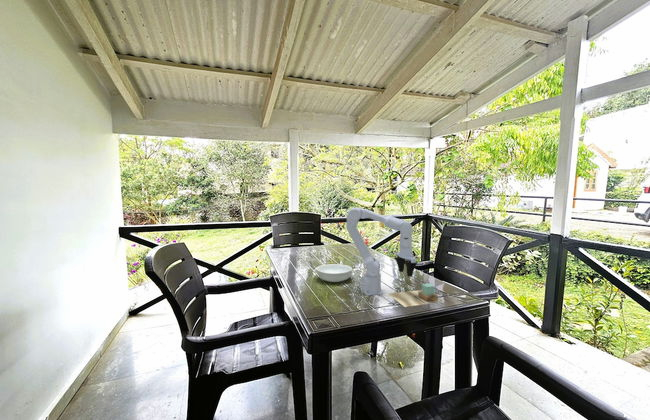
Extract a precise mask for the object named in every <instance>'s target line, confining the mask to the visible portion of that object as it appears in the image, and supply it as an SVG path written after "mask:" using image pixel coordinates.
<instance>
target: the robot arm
mask: <svg viewBox="0 0 650 420" xmlns="http://www.w3.org/2000/svg"><path fill="white" fill-rule="evenodd" d="M360 219H363V220H364V219H370V220H374V221H377V222H379V223H382V224H383V225H384V227H386V228H389V229H391V230H394V231H396V232H399V231H400V232H399V233H400V234H399V251H397V252H396V253H395V254H396V257H394V260H395V261H396V265H397V268H398V272H399V273H404V271H405V268H406V275H407V277H412V276H413V274H414V270H415V268H416V266H417V265H418V262H417V259H416V258H415V257H414V254H413V249H412V248H413V237H412V233H413V232H414V228H413V226H412V224H411V223H410V222H409V221H407V220H404V219H402V218H401V219H400V218H397V217H395V215H387V216H384V215H382V214H379V213H377V212H374V211H372V210H370V209H365V208H360V207H358V206H356V207H351V208H350V209H349V210H348V212H347V215H346V227H345V228H346V232H348V235H349V236H350V238H351V240H352V241H353V244H354V246H355V247H356V249H357V250H358V253H359V254H360V256H361V258H362V259H363V263H364V265H365V267H366V268H365V269H366V273H365V275H362V276H361V278H360V291H361V292H362V293H363V294H364V295H366V296H375V295H383V294H385V292H384V291H382V290H381V288H382V284H381V282H382V281H381V280H382V273H380V271H381V269H380V268H381V263H380V262H379V261H378V260H377V259H376V258H375V256H374V255H373V254H372V253H371V251H370V249H369V247H368V245H367V243H366V242H365V240H364V238H363V236H362V234H361V233H360V231H359V229H358V224H359V221H360Z"/></svg>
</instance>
